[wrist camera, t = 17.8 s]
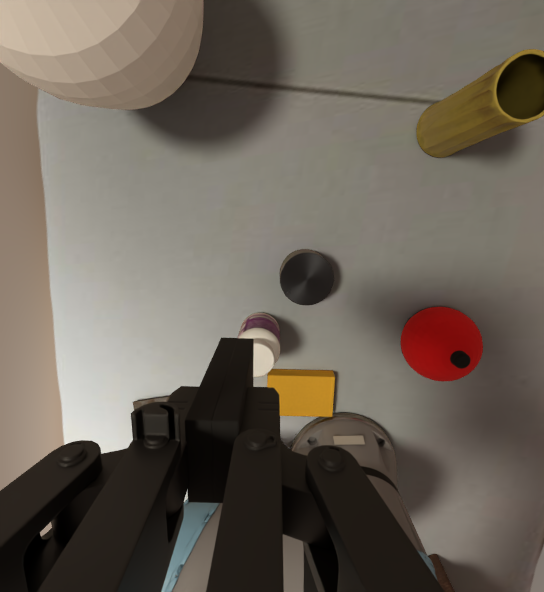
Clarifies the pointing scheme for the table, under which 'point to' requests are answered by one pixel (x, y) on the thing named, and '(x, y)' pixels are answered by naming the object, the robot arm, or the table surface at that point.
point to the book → (441, 574)
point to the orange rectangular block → (303, 391)
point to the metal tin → (306, 277)
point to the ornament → (441, 344)
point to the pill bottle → (262, 341)
